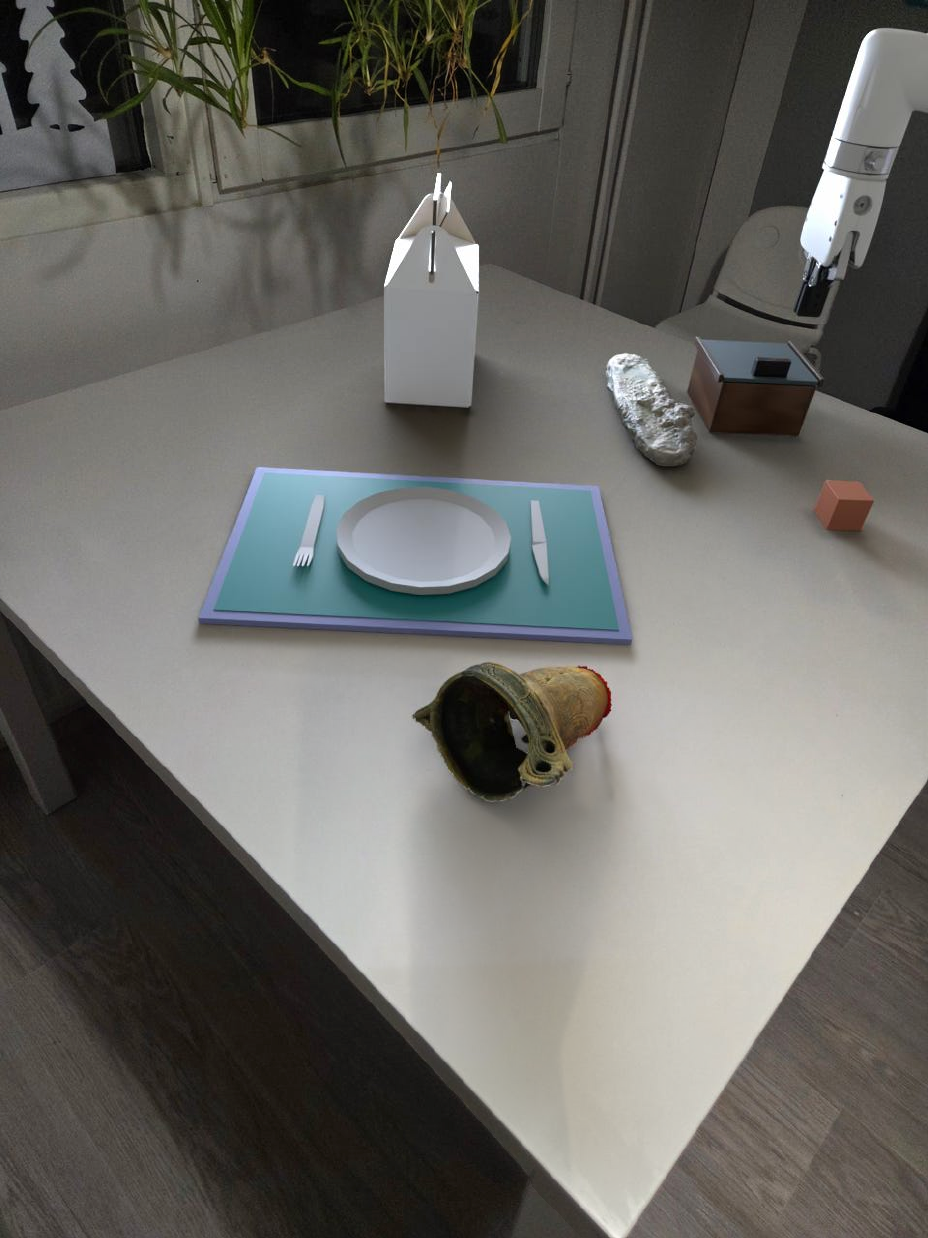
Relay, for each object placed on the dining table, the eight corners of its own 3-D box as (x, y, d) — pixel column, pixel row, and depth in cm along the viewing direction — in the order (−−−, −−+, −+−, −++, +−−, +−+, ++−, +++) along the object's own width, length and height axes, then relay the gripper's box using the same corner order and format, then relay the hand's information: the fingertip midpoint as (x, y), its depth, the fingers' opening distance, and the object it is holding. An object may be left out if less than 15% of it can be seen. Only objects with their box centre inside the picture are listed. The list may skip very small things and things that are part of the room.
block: (847, 511, 109) (860, 481, 106) (860, 530, 106) (874, 500, 103) (813, 510, 109) (825, 480, 106) (826, 529, 106) (839, 499, 103)
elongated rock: (649, 375, 142) (592, 376, 141) (653, 345, 139) (595, 346, 138) (709, 470, 114) (638, 472, 114) (716, 435, 111) (643, 436, 110)
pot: (679, 667, 71) (548, 711, 58) (663, 788, 74) (535, 854, 61) (527, 624, 82) (390, 652, 70) (518, 729, 85) (385, 775, 73)
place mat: (199, 623, 85) (196, 606, 83) (257, 471, 108) (255, 456, 107) (631, 644, 86) (635, 628, 85) (597, 491, 110) (600, 476, 108)
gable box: (470, 409, 125) (484, 210, 107) (384, 403, 125) (383, 203, 107) (471, 350, 142) (483, 170, 124) (395, 345, 142) (396, 164, 124)
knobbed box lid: (785, 346, 130) (791, 328, 128) (817, 385, 120) (824, 365, 118) (699, 342, 130) (703, 324, 128) (723, 381, 119) (729, 361, 117)
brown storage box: (774, 395, 136) (792, 340, 130) (804, 436, 125) (824, 379, 119) (682, 391, 135) (695, 336, 129) (703, 432, 124) (719, 374, 118)
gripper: (918, 176, 91) (855, 338, 103) (864, 146, 102) (813, 296, 114) (853, 171, 91) (797, 335, 102) (806, 142, 102) (760, 292, 114)
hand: (806, 314), depth 108 cm, fingers closed
